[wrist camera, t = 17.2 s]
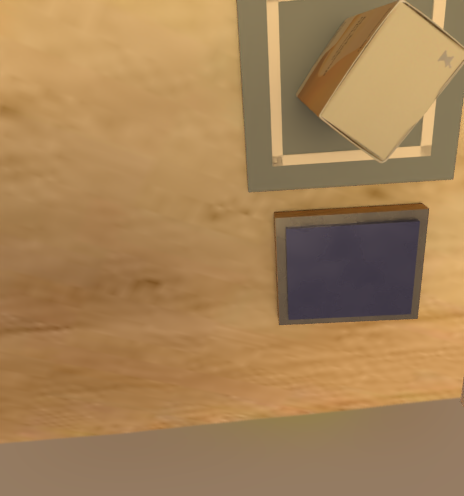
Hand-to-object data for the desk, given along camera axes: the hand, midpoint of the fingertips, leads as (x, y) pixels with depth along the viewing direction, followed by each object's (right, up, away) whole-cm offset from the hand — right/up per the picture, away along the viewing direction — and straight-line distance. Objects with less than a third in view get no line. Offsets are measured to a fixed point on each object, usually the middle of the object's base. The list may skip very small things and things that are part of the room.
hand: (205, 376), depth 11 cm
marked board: (+9, +16, +21) cm, 28 cm away
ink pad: (+10, +2, +27) cm, 29 cm away
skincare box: (+9, +16, +21) cm, 27 cm away
